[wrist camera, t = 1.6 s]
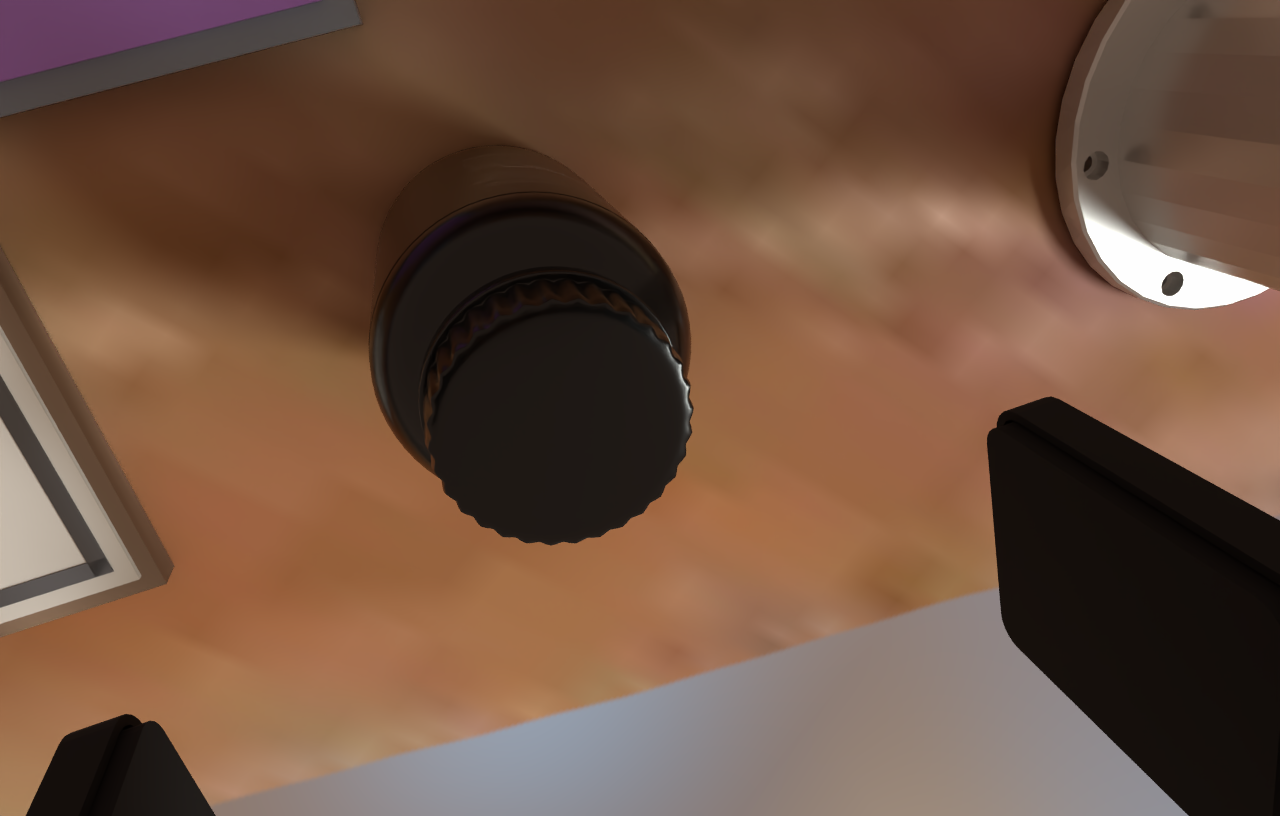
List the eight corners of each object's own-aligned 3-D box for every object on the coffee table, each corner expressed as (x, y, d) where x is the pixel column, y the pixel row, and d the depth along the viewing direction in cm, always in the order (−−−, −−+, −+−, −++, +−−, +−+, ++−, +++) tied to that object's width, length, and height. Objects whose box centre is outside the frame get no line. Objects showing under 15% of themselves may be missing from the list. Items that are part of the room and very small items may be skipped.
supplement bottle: (325, 275, 26) (267, 453, 15) (486, 88, 25) (548, 133, 14) (510, 418, 29) (574, 653, 18) (660, 255, 28) (823, 398, 17)
